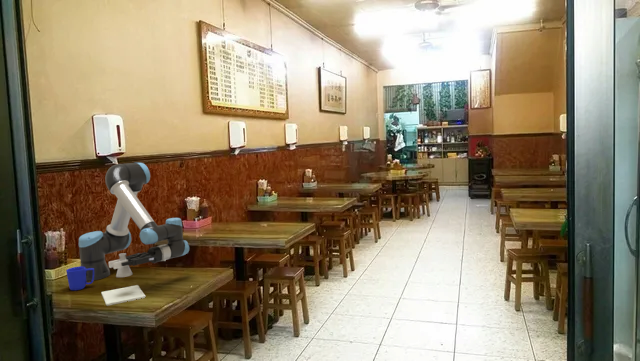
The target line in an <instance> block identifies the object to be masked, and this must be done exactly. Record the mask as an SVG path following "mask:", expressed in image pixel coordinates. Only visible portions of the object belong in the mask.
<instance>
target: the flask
mask: <svg viewBox="0 0 640 361" xmlns="http://www.w3.org/2000/svg"><path fill="white" fill-rule="evenodd" d="M118 256H119V259H120V261H123V260H126V256H127V253H126V252H125V253H119V254H118ZM132 275H133V272H132V270H131V267H130V265H128V266H125V267H121V268H117V271H116V275H115V277H116V278H125V277H130V276H132Z"/></svg>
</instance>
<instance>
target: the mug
mask: <svg viewBox="0 0 640 361" xmlns="http://www.w3.org/2000/svg"><path fill="white" fill-rule="evenodd" d="M87 270H93V278H92V281H89V282H88V281H86V271H87ZM66 276H67V281H68V287H69V289H70V291H79V290H83V289H85V287H86V285H90V284H93V283H94V281H95V280H94V268H89V269H85V267H80V266H73V267H70V268H68V269H66Z"/></svg>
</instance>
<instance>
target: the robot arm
mask: <svg viewBox="0 0 640 361" xmlns="http://www.w3.org/2000/svg"><path fill="white" fill-rule="evenodd" d="M104 178H105V185H106V187H107V189H108V191H109V192H110V194H112V195H115V197H116V198H117V200H116V205H115V207H114V211H113V215H112V219H111V222H110V224H108V225H106V228H105V232H102V231H101V230H96V231H91V232H86V233H84V234H82V235H80V236H79V238H78V248H79V250H78V251H79V260H80V266H79V267H85V269H89V268H94V280H93V281H96V280H101V279H105V278H107V277H109V276H111V271H110V269H112V268H113V270H116V269H117V270H118V268H121V267H125V266H128V265H129V267H130V266H132V267H133V266H134V267H135V266H138V265H143V264H146V263H152V264H156V263H159V262H166V260H170V259H173V258H179V257H183V256H185V255H186V254H187V255H188V254H189V251H190V244H189V242H188V241H187V240H184V236H183V235H184V234H183V222H182V219H181V218H180V217H171V218H167V219H165V223H164V224H160V225H158V224H157V223H156V222H155V221H154V219H153V218H152V216H151V215H150V213H149V211H148V210H147V209H146V208H145V207H144V205H143V203H142V202H141V201H140V199H139V198H138V193H139V192H141V191H142V189H143V186H144V185H147V184H148V183H149V182H150V180H151V172H150V170H149V168H148V166H147V165H146V164H145V163H143V162H137V161H136V162H131V163H129V162H128V163H116V164H114V165H111V167H109V168H108V170H107V172H106V173H105V177H104ZM130 219H132V221H133V223H135V225H136V226H137V228H138V229H139V230H140V232H139V238H140V241H141V243H142V244H144V245H153V244H156V243H159V242H162V241H167V243H166V244H165V243H163V244H159V245H157V246H152V247H150V248H149V249H148V250H147V251H144V252H137V253H134V254H130V255H126V260H123V261H120V258H119V259H115V260H110V261H108V264H107V262H106V256H105V255H108V254H113V253H115V252H116V253H117V252H120V251H123V250H125V249H128V248H129V246H130V245H131V242H132V234H131V232H130V229H129V227H128V225H129V224H130ZM92 278H93V270H87V271H86V282H91V281H92Z"/></svg>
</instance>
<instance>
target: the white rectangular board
mask: <svg viewBox="0 0 640 361" xmlns="http://www.w3.org/2000/svg"><path fill="white" fill-rule="evenodd" d="M101 297H102V298H103V300H104V303H105V305H106V306H107V307H109V306H112V305H113V306H114V305H117V304H121V303H126V302H127V301H128V302H132V301H136V299H137V300H142V299H146V298H145V297H146V295H145V293H144V292H143V290H142V289H141V288H140V286H139V284H136V285H131V286H126V287H122V288H116V289H111V290H105V291H101ZM141 298H142V299H141Z"/></svg>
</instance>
